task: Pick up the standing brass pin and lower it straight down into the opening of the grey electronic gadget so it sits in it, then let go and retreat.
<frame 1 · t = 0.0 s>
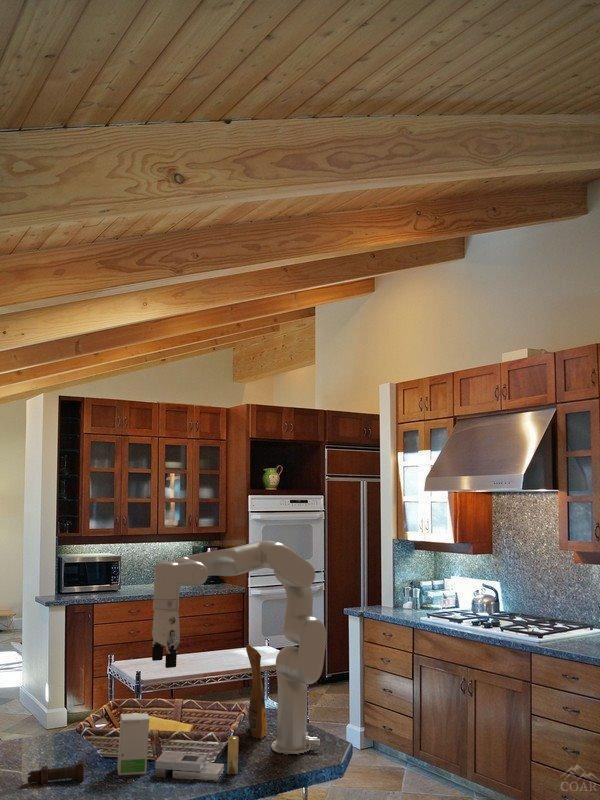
hand: (163, 663, 236), 31 cm above the countertop, tool pointing down, fingers open, 9 cm apart
pin: (232, 773, 236), on the countertop
grey electronic gadget: (189, 773, 234), on the countertop
skincare box: (132, 771, 235), on the countertop
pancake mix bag: (255, 732, 273), on the countertop
bolt: (55, 783, 226), on the countertop
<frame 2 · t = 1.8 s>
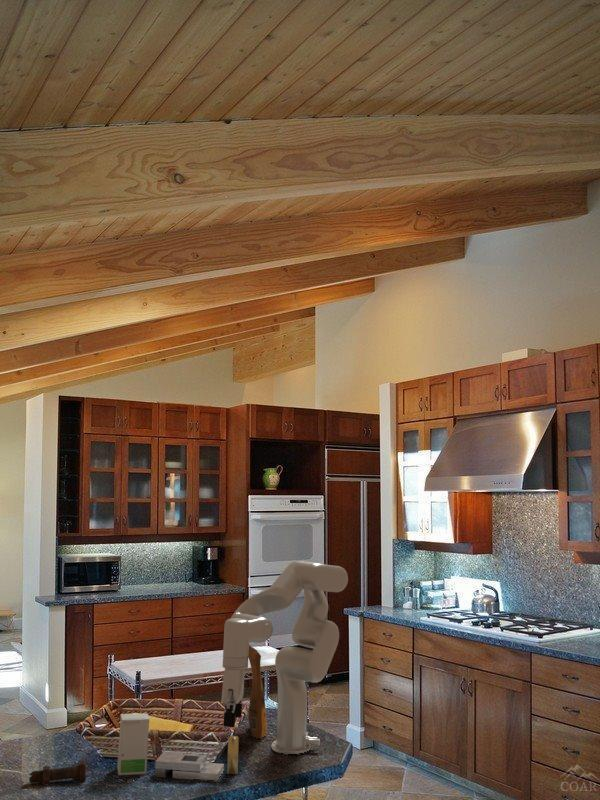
hand: (232, 721, 237), 15 cm above the countertop, tool pointing down, fingers open, 9 cm apart
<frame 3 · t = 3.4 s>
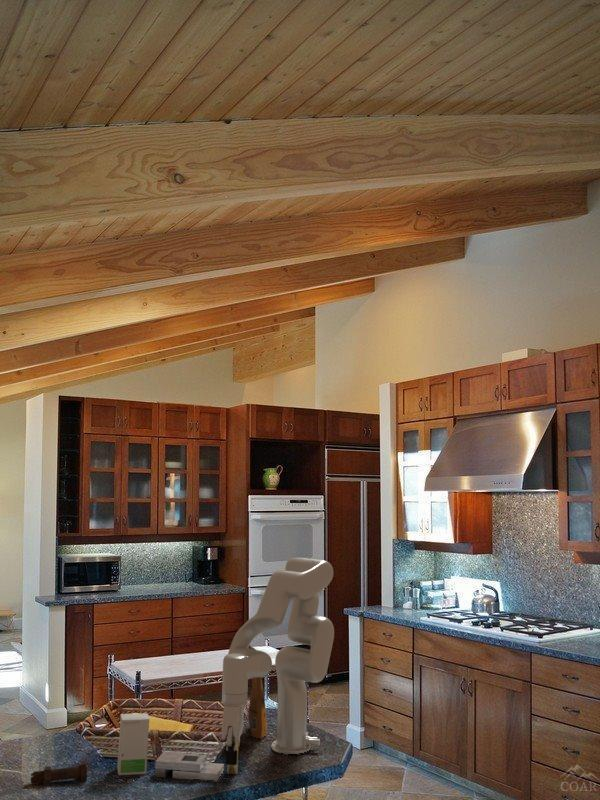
hand: (232, 761, 236), 3 cm above the countertop, tool pointing down, fingers closed on pin, 3 cm apart
pin: (232, 773, 236), on the countertop, touching gripper
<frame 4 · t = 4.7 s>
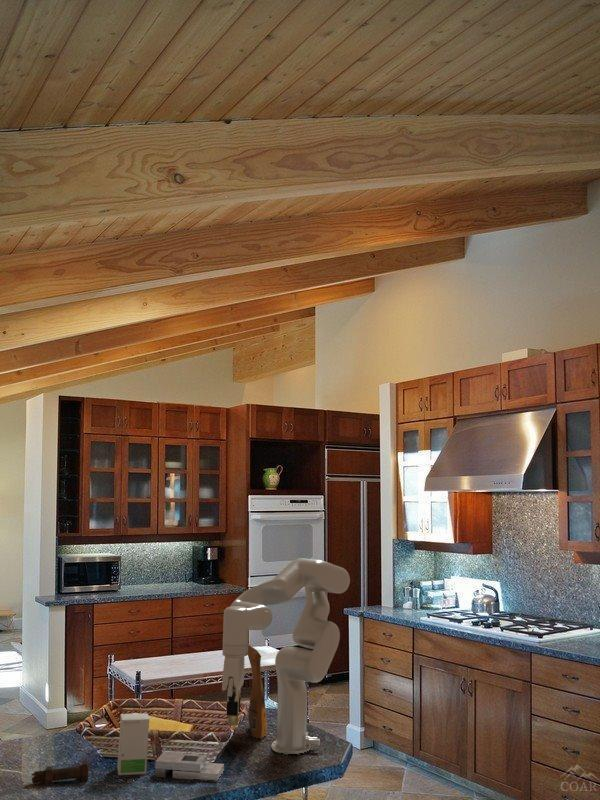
hand: (233, 712, 237), 17 cm above the countertop, tool pointing down, fingers closed on pin, 3 cm apart
pin: (233, 724, 237), point 14 cm above the countertop, touching gripper
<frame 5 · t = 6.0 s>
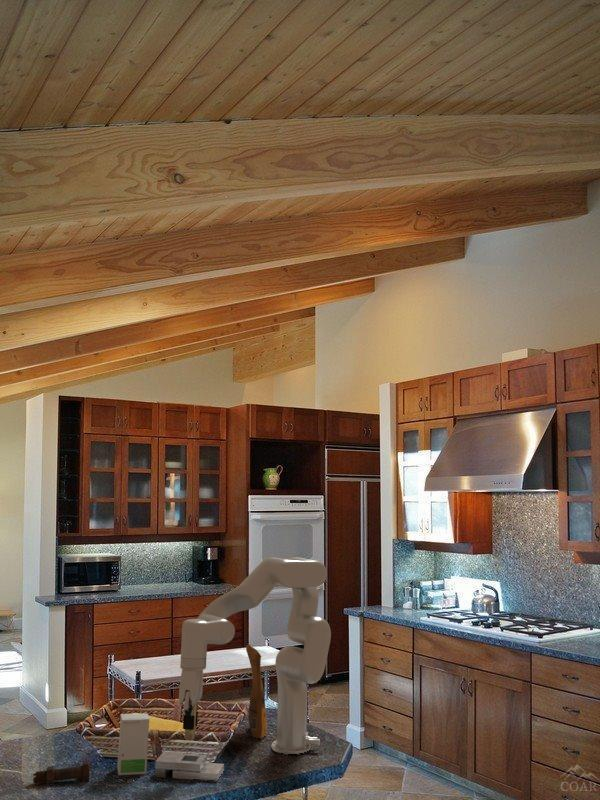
hand: (190, 726, 235), 13 cm above the countertop, tool pointing down, fingers closed on pin, 3 cm apart
pin: (189, 738, 235), point 10 cm above the countertop, touching gripper
when the fingers open (6 cm above the countertop, at t = 7.2 s): pin drops 3 cm, resting in grey electronic gadget.
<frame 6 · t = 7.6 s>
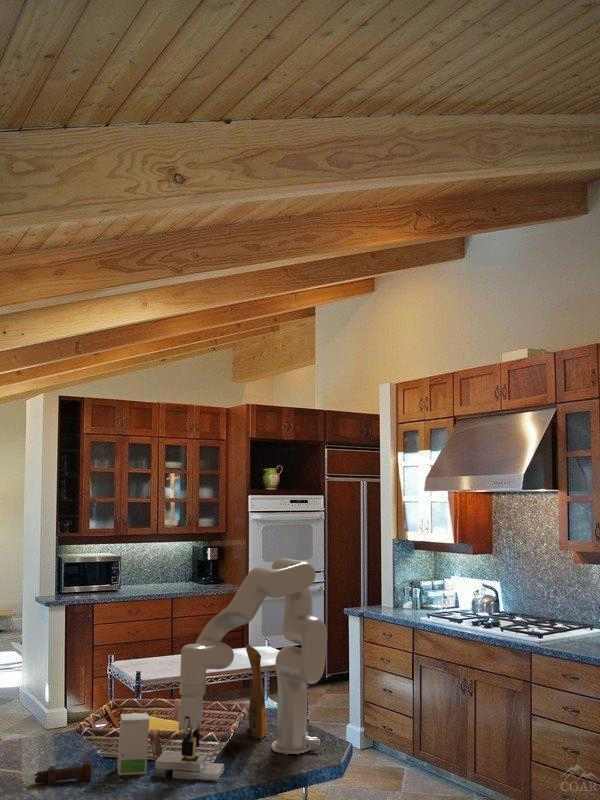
hand: (190, 750, 235), 6 cm above the countertop, tool pointing down, fingers open, 6 cm apart
pin: (189, 773, 234), resting in grey electronic gadget
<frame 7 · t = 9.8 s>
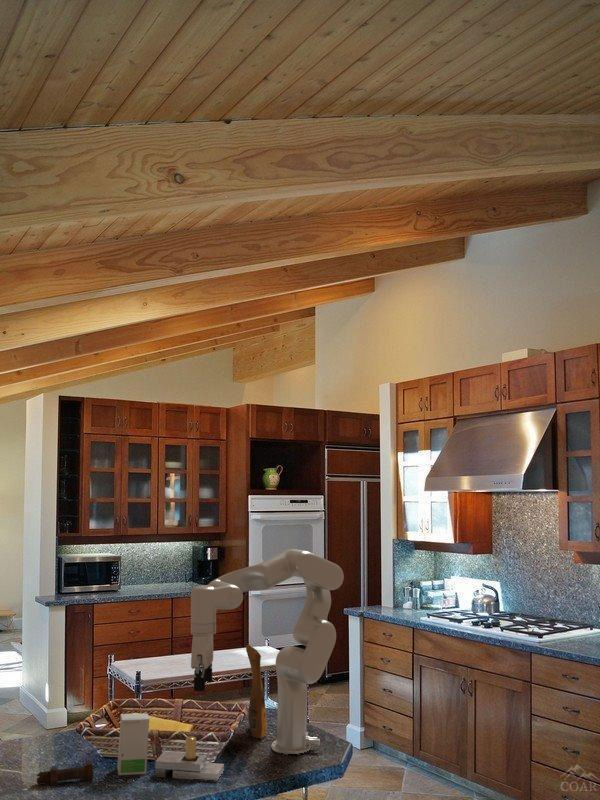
hand: (203, 686, 241), 24 cm above the countertop, tool pointing down, fingers open, 9 cm apart
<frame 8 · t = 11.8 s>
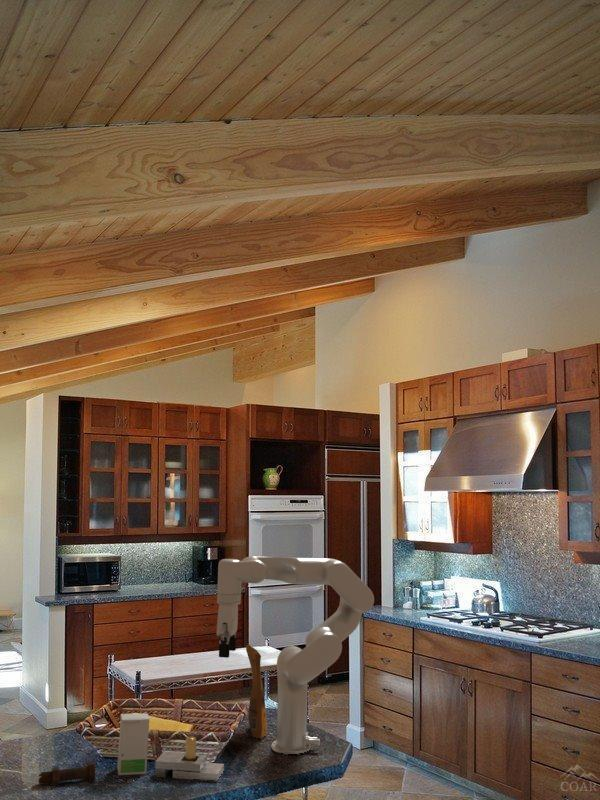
hand: (227, 653, 255), 30 cm above the countertop, tool pointing down, fingers open, 9 cm apart
at the end: pin 0.0 cm off-centre on the grey electronic gadget, point 0.0 cm above the grey electronic gadget's base; pin tilted 0°; the gripper is holding nothing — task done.
